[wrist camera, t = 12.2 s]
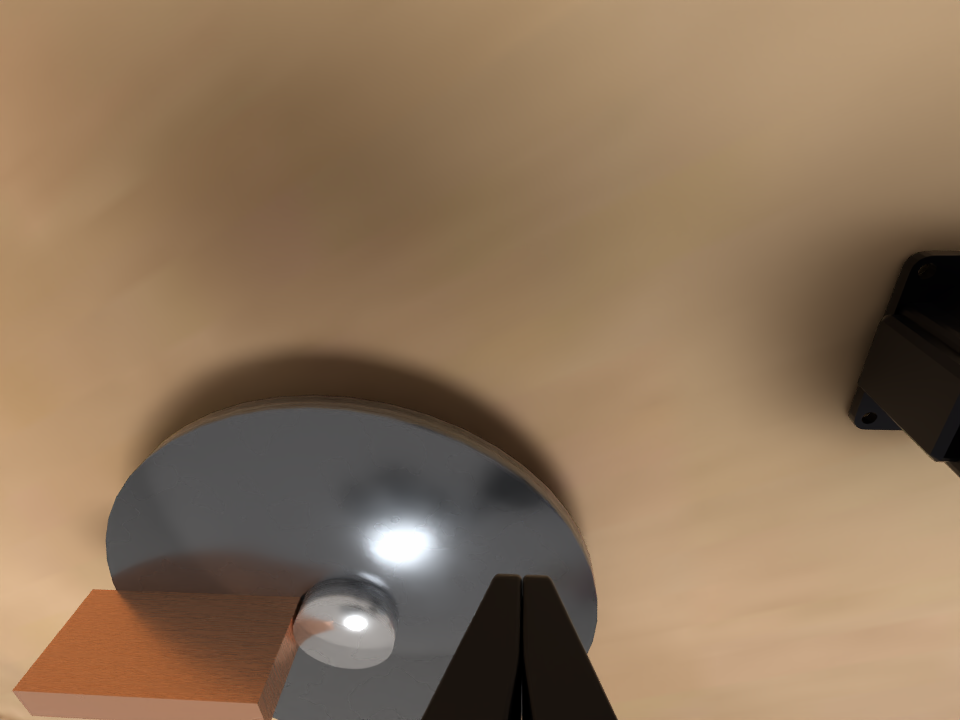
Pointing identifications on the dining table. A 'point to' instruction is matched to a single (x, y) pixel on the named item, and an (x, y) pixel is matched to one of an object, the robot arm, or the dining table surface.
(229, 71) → the dining table surface
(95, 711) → the grey disc with hub
